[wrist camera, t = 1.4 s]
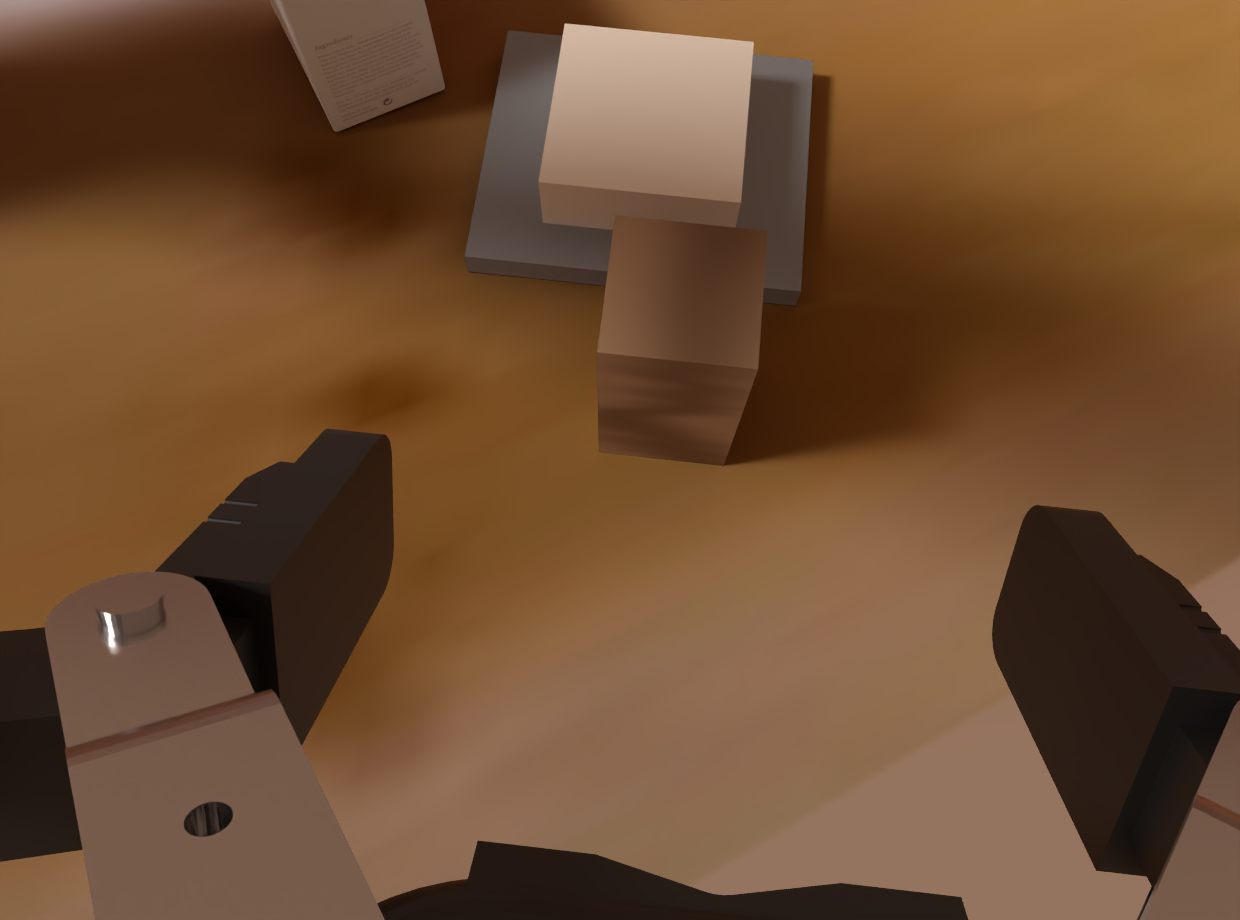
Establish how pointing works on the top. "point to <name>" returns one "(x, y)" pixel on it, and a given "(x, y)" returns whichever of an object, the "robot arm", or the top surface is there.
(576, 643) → the top surface
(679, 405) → the walnut block
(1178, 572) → the top surface
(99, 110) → the top surface
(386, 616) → the top surface
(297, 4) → the small box
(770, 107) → the plate
